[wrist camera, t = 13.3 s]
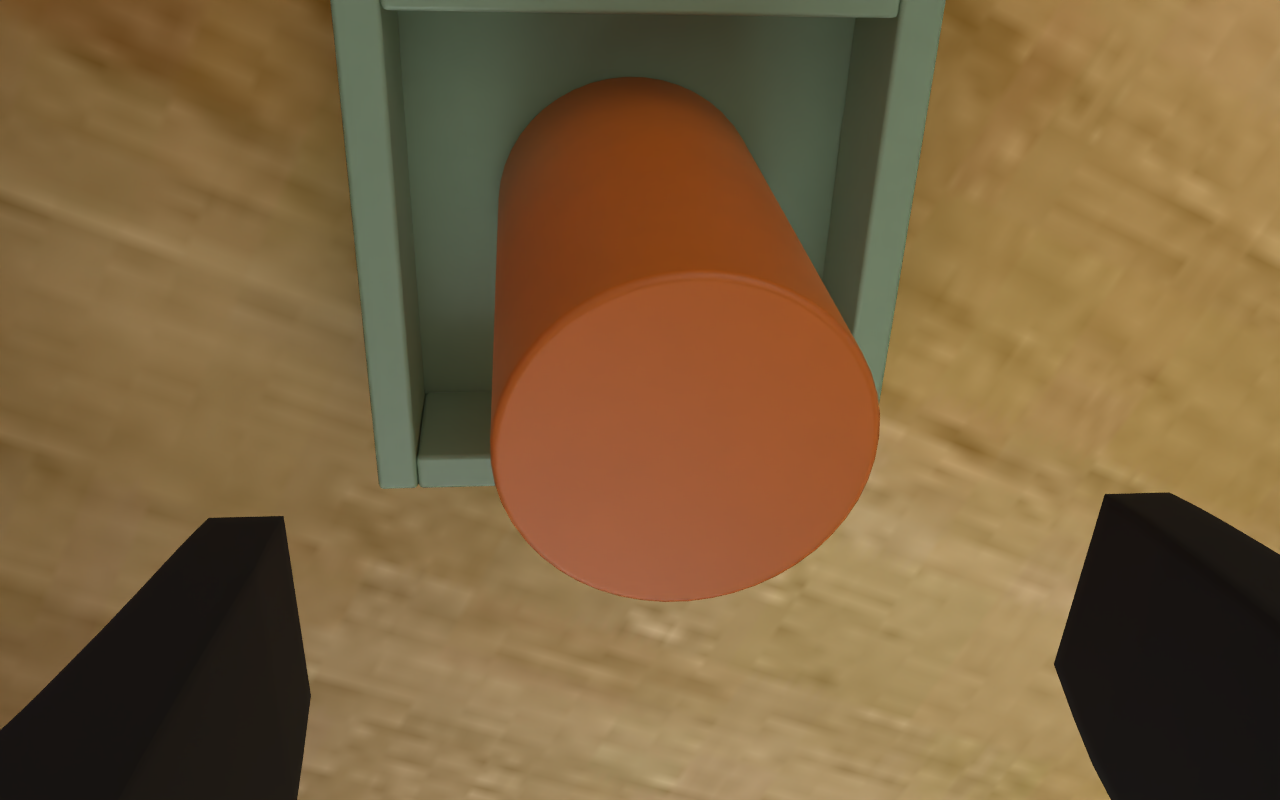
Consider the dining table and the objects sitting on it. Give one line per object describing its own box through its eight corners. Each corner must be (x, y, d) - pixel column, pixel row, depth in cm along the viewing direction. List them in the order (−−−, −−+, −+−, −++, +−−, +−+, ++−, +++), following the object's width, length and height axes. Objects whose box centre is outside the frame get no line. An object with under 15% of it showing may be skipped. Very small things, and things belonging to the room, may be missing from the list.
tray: (393, 406, 19) (378, 490, 17) (351, -74, 16) (324, -42, 13) (831, 398, 20) (868, 478, 18) (895, -61, 16) (952, -29, 14)
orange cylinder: (567, 358, 19) (592, 654, 13) (450, 145, 17) (415, 377, 11) (791, 260, 18) (928, 521, 12) (699, 29, 16) (808, 202, 10)
